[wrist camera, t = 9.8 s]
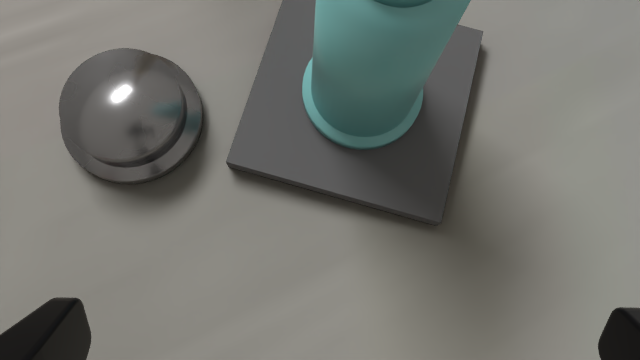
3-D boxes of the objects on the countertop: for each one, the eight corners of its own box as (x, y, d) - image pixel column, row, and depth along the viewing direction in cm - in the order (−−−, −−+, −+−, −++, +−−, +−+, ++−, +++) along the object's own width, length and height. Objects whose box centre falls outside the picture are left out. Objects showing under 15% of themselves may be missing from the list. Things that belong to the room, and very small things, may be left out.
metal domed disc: (221, 78, 24) (213, 57, 22) (175, 200, 22) (163, 189, 20) (98, 44, 24) (80, 20, 22) (44, 162, 23) (19, 148, 21)
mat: (477, 39, 25) (483, 31, 24) (436, 225, 22) (441, 222, 22) (290, -11, 25) (289, -21, 25) (228, 166, 23) (226, 161, 22)
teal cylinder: (441, 81, 23) (535, -71, 14) (379, 173, 22) (437, 70, 13) (345, 21, 24) (374, -162, 15) (278, 106, 23) (265, -37, 13)
